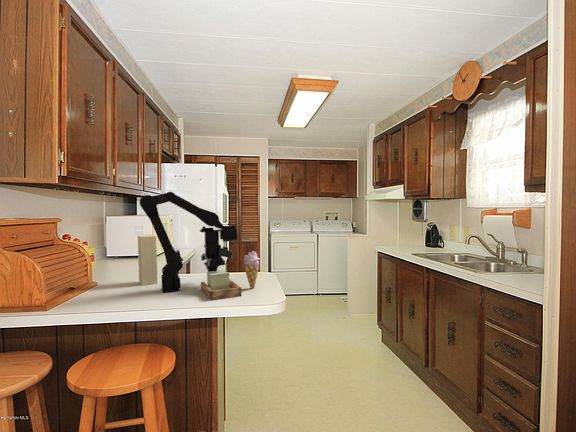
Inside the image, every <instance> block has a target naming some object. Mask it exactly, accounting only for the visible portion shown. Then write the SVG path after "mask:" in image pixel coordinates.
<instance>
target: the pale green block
mask: <svg viewBox="0 0 576 432" xmlns="http://www.w3.org/2000/svg"><path fill="white" fill-rule="evenodd" d="M206 276H207V277H206V279H207V280H206V281H207V283H206V284H207V285H208V286H209V287H210V288H211V289H212V290H221V289H229V287H230V284H229V279H230V273H229V272H227V270H224V269H223V270H217V271H211V272H208V271H207V272H206Z"/></svg>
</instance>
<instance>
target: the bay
mask: <svg viewBox="0 0 576 432" xmlns="http://www.w3.org/2000/svg"><path fill="white" fill-rule="evenodd" d="M229 284H230V287H229V289H221V290H212V289H211V288H210V287H209V286H208V285H207V283H206V282H205V281H200V289H201V291H202V292H203V294H204V295H205V296H206V297H207V298H208V299H209V300H210V301H213V300H222V299H228V298H237V297H242V295H243V294H242V287H241V286H239V285H238V284H237V283H235V282H234V281H233V280H231V279H230V278H229Z"/></svg>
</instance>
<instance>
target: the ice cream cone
mask: <svg viewBox="0 0 576 432" xmlns="http://www.w3.org/2000/svg"><path fill="white" fill-rule="evenodd" d="M259 260H261V258H260V257H258V253H257V251H254V250H251V252H250V251H249V252H248V254H244V258H243V261H244V262H243V266H244V271H245V274H246V275H245V276H246V279H247V281H248V285H249V287H250V289H251V290H254V289H255V286H256V282H257V279H258V275H259V274H258V273H259V266H260V261H259Z"/></svg>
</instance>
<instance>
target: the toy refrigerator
mask: <svg viewBox="0 0 576 432" xmlns="http://www.w3.org/2000/svg"><path fill="white" fill-rule="evenodd" d="M157 252H158V251H157V235H155V234H139V235H137V254H138V255H137V256H138V257H137V258H138V262H137V263H138V281H139V284H140V285H141V286H149V285H157V284H159V283H158V282H159V281H158V279H159V278H158V255H157Z"/></svg>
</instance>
